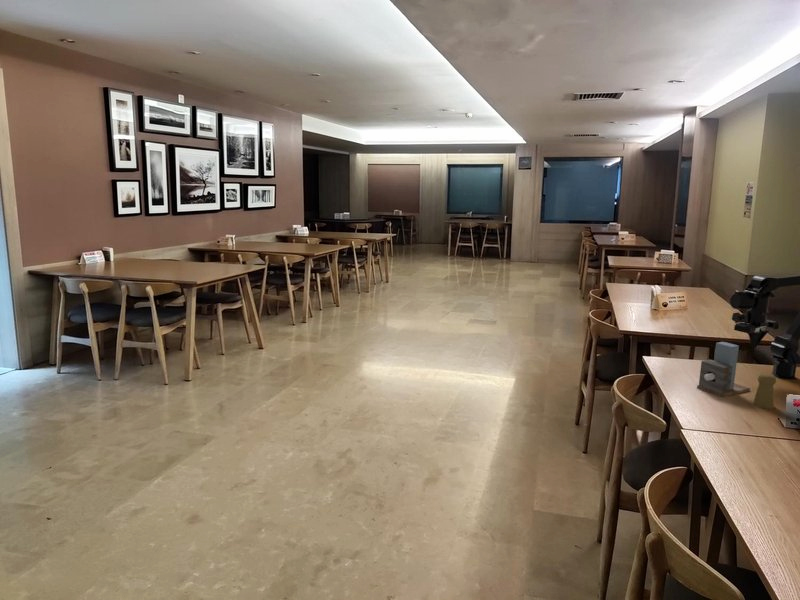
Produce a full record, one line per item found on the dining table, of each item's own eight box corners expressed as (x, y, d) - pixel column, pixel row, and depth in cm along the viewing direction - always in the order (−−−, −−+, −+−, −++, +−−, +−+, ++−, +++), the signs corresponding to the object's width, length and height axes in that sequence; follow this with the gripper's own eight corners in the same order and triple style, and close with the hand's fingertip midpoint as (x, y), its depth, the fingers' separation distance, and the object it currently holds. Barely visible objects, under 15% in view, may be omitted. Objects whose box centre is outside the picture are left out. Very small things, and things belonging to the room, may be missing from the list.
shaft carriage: (718, 383, 213) (723, 341, 210) (733, 388, 208) (738, 345, 205) (698, 387, 209) (703, 344, 206) (713, 392, 203) (718, 349, 200)
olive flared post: (777, 408, 192) (782, 377, 190) (759, 408, 192) (764, 377, 190) (766, 402, 198) (771, 371, 196) (749, 401, 198) (753, 371, 196)
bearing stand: (724, 382, 218) (727, 355, 216) (749, 390, 209) (753, 362, 207) (696, 388, 211) (699, 360, 209) (722, 396, 203) (725, 368, 201)
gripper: (753, 302, 231) (748, 340, 234) (723, 306, 223) (718, 345, 225) (781, 308, 221) (776, 347, 224) (751, 312, 213) (746, 352, 216)
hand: (753, 347), depth 222 cm, fingers closed
